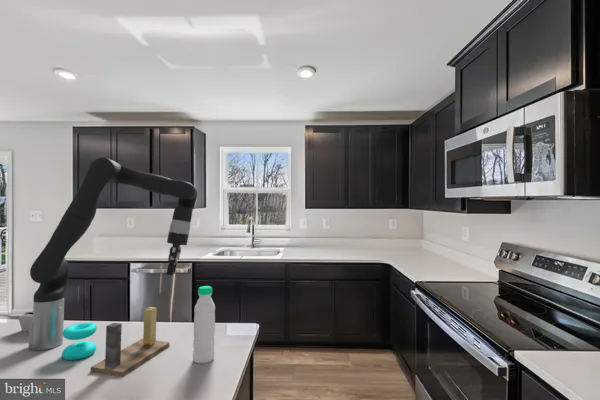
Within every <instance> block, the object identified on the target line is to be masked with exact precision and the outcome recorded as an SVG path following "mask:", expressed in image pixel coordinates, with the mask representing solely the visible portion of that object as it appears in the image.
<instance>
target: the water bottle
mask: <svg viewBox="0 0 600 400" xmlns="http://www.w3.org/2000/svg"><path fill="white" fill-rule="evenodd" d="M197 295H198V296H199V297H198V299H197V301H196V304H195V305H194V309H193V310H194V311H193V312H194V315H193V316H194V317H193V351H192V360H193V362H194V363H195V364H196V363H197V364H198V365H199V364H201V365H203V364H208V363H210V362H212V361H213V360H214V358H215V329H216V312H215V311H216V304H215V302H214V301H213V298H212V295H213V287H212V286H210V285H204V286H202V285H201V286H200V287H198V289H197Z"/></svg>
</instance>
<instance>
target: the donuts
mask: <svg viewBox="0 0 600 400" xmlns="http://www.w3.org/2000/svg"><path fill="white" fill-rule="evenodd" d="M97 330H98V326H97V324H96V323H93V322H80V323H75V324H71V325H69V326H67V327H65V329H63V339H66V340H68V341H69V340H70V341H77V342H74V343H71V344H69V345H67V346H66V347H64V349H63V350H62V352H61V356H62V358H63V359H64V360H67V361H78V360H81V359H85V358H87V357H90V356H92V355H93V354H94V353H95V352H96V350H97V345H96V343H94V342H92V341H86V340H85V341H79V340H82V339H86V338H89V337H91V336H93V335H94V334H95V333H96V332H97Z"/></svg>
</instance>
